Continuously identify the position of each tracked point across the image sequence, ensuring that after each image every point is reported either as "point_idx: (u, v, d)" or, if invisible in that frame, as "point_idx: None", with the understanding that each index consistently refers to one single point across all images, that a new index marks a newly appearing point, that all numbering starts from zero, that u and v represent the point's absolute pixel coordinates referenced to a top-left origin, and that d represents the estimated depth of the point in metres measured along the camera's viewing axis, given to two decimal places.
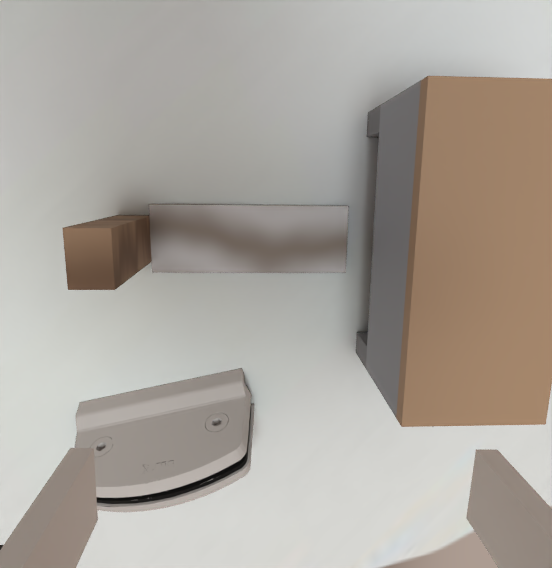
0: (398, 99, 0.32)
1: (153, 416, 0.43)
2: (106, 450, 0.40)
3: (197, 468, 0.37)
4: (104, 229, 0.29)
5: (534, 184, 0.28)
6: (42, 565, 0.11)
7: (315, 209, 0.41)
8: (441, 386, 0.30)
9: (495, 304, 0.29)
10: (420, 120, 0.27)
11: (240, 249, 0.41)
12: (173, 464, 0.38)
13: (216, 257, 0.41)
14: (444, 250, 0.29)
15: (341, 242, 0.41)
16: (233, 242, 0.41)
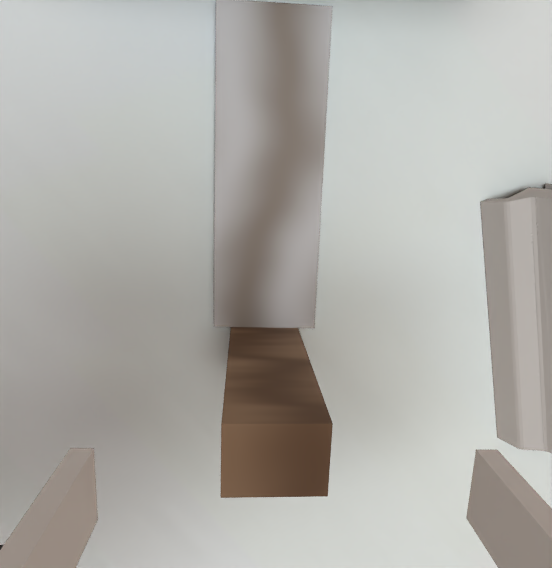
0: None
1: (541, 343, 0.27)
2: None
3: None
4: (223, 434, 0.16)
5: None
6: (42, 565, 0.11)
7: (221, 61, 0.24)
8: None
9: None
10: None
11: (284, 192, 0.26)
12: None
13: (296, 231, 0.26)
14: None
15: (279, 13, 0.24)
16: (273, 204, 0.26)
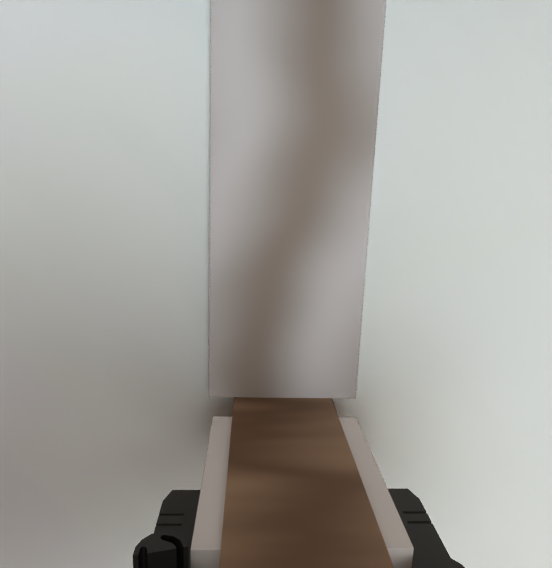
0: None
1: None
2: None
3: None
4: None
5: None
6: None
7: None
8: None
9: None
10: None
11: (315, 202, 0.17)
12: None
13: (331, 259, 0.18)
14: None
15: None
16: (297, 219, 0.17)
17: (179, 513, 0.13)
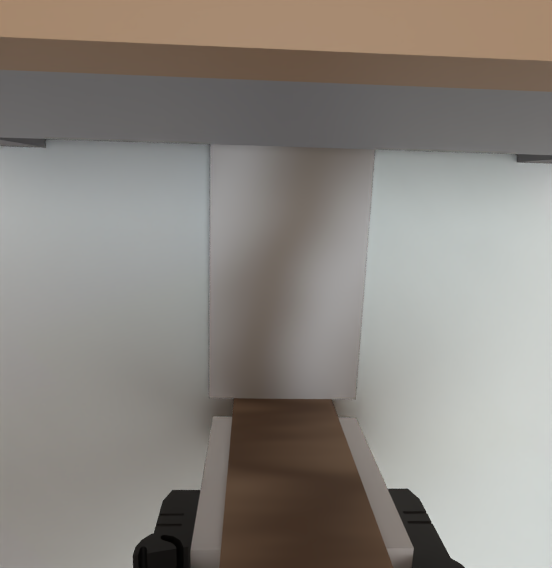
0: None
1: None
2: None
3: None
4: None
5: None
6: None
7: None
8: None
9: None
10: None
11: (315, 203, 0.17)
12: None
13: (331, 260, 0.18)
14: None
15: None
16: (297, 219, 0.17)
17: (179, 513, 0.13)
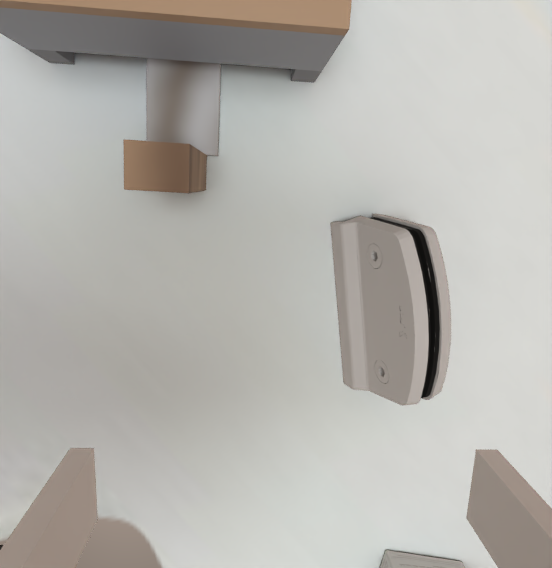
0: None
1: (363, 317, 0.42)
2: (385, 367, 0.40)
3: (409, 283, 0.35)
4: (125, 146, 0.28)
5: None
6: (42, 565, 0.11)
7: None
8: None
9: None
10: None
11: None
12: (402, 307, 0.36)
13: (203, 82, 0.38)
14: None
15: None
16: (186, 61, 0.38)
17: None
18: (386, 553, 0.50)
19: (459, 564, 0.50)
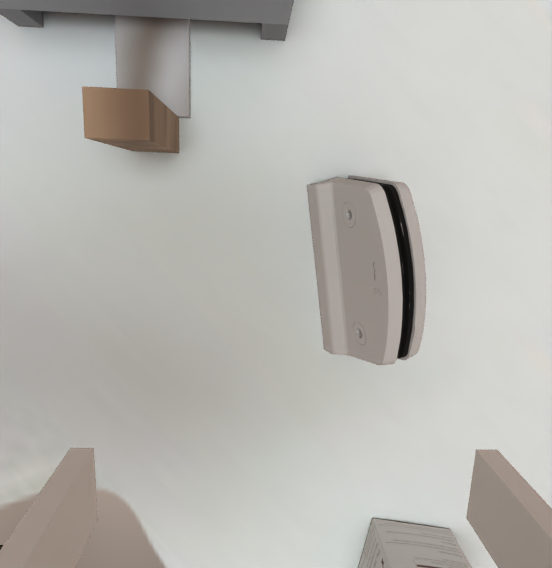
0: None
1: (341, 279, 0.42)
2: (362, 328, 0.40)
3: (381, 237, 0.35)
4: (83, 93, 0.28)
5: None
6: (42, 565, 0.11)
7: None
8: None
9: None
10: None
11: None
12: (376, 262, 0.36)
13: (172, 42, 0.38)
14: None
15: None
16: (155, 21, 0.38)
17: None
18: (373, 521, 0.49)
19: (447, 532, 0.50)
